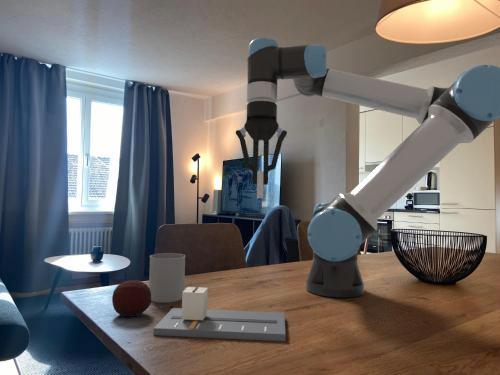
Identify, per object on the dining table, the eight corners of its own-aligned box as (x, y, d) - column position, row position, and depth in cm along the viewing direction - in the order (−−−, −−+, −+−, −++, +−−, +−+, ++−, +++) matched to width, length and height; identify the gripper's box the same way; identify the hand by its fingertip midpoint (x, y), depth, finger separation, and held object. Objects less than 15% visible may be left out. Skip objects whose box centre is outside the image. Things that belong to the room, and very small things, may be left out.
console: (284, 318, 75) (284, 312, 75) (285, 341, 63) (285, 333, 63) (172, 313, 76) (173, 307, 76) (153, 335, 64) (153, 327, 64)
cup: (175, 303, 84) (176, 259, 84) (142, 300, 85) (143, 257, 86) (188, 294, 92) (189, 254, 92) (158, 292, 93) (159, 252, 94)
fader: (207, 313, 72) (207, 286, 72) (203, 320, 68) (203, 291, 68) (186, 312, 72) (187, 285, 72) (181, 319, 68) (182, 291, 68)
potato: (117, 309, 78) (118, 276, 78) (154, 309, 79) (155, 276, 79) (106, 321, 71) (107, 284, 71) (147, 321, 71) (148, 284, 72)
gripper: (287, 107, 95) (286, 198, 94) (237, 107, 96) (235, 197, 95) (288, 99, 87) (287, 198, 86) (234, 99, 88) (232, 197, 87)
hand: (260, 198), depth 91 cm, fingers closed
